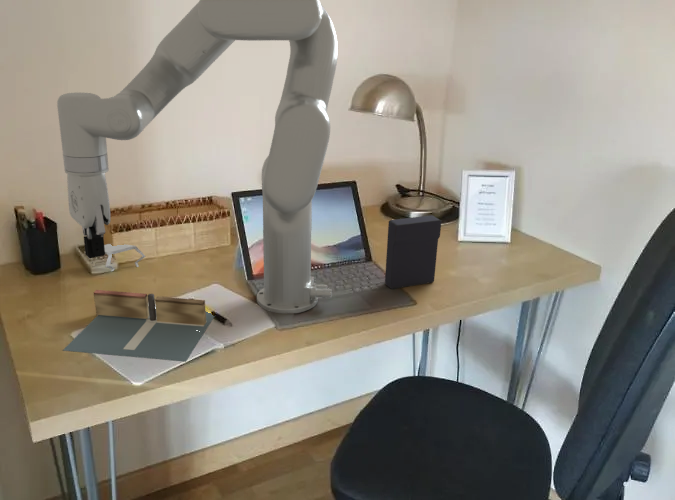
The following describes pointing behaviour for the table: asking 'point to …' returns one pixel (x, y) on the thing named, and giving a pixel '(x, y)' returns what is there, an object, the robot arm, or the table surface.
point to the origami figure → (117, 249)
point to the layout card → (139, 338)
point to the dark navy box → (412, 251)
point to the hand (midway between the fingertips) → (95, 255)
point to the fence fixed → (177, 310)
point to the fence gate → (121, 304)
